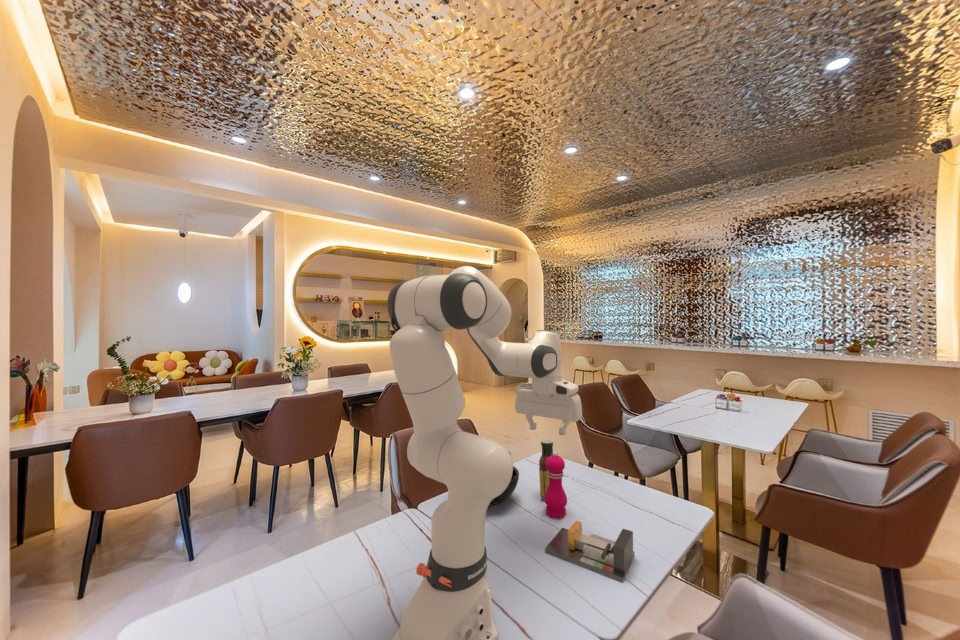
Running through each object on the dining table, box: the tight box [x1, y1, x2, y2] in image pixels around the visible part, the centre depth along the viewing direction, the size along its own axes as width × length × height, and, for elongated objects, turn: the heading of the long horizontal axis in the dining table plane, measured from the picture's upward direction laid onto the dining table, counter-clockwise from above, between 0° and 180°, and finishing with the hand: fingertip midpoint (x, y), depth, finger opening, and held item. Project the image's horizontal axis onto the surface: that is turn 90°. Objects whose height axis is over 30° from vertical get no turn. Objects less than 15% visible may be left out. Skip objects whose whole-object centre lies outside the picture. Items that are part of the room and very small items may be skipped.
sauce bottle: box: [538, 439, 554, 501], centre depth 127 cm, size 7×6×20 cm
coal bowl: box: [489, 451, 520, 505], centre depth 126 cm, size 20×20×19 cm
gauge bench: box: [544, 527, 635, 583], centre depth 97 cm, size 12×20×7 cm, turn 55°
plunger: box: [568, 520, 614, 559], centre depth 95 cm, size 9×11×5 cm
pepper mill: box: [543, 450, 568, 520], centre depth 117 cm, size 7×7×20 cm
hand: (547, 431), depth 108 cm, fingers open, 8 cm apart
